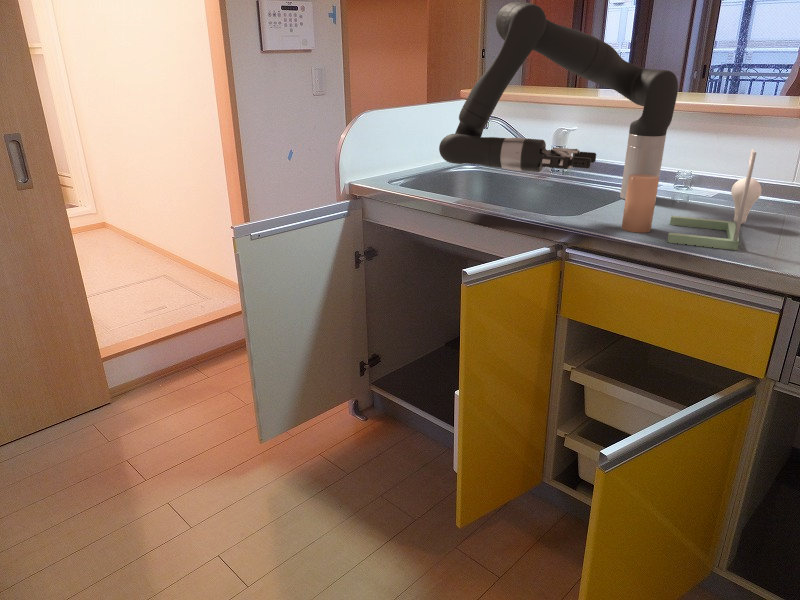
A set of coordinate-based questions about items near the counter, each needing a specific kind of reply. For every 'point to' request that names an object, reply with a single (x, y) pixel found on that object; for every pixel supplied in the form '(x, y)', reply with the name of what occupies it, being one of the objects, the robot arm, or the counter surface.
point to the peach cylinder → (640, 203)
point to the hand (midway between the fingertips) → (593, 160)
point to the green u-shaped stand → (714, 224)
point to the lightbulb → (751, 198)
